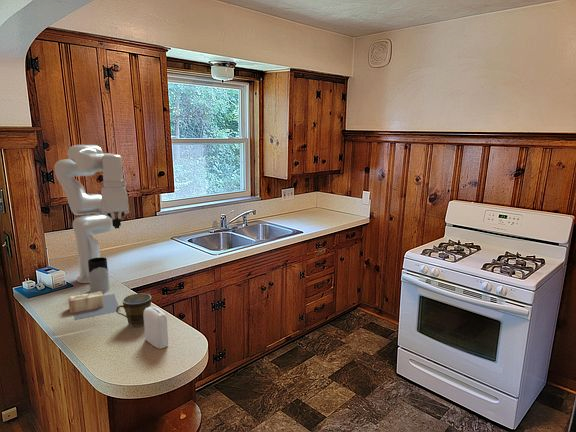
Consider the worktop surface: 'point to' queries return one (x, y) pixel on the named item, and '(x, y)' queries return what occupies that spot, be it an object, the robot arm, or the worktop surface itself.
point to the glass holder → (98, 275)
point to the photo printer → (155, 327)
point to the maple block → (85, 302)
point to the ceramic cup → (135, 308)
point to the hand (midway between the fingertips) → (116, 227)
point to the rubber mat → (109, 307)
